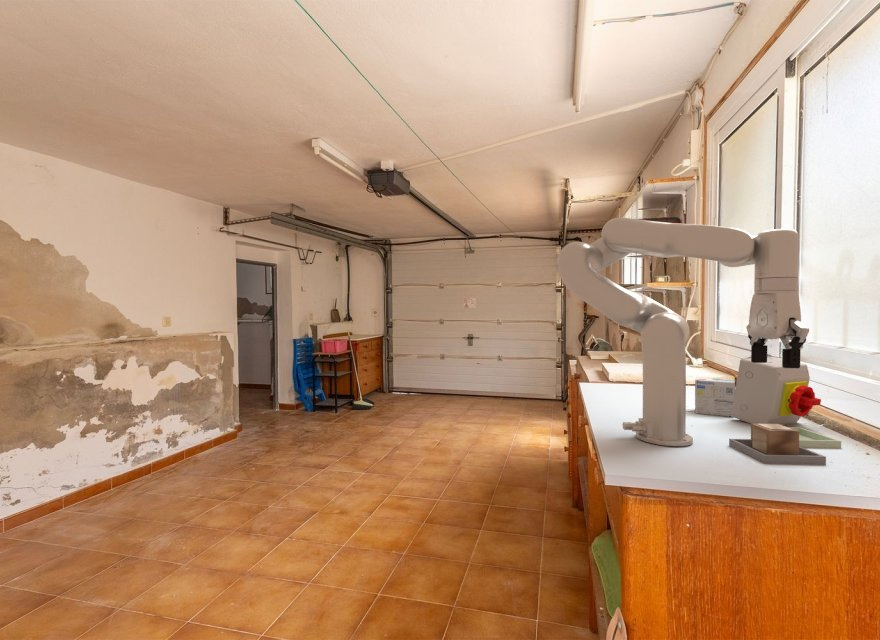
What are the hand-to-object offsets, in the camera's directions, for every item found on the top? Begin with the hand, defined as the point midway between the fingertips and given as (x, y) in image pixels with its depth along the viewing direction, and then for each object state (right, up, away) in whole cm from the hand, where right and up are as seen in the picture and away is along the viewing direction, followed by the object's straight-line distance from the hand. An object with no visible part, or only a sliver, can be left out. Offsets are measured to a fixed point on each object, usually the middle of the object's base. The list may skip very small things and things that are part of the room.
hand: (774, 365), depth 94 cm
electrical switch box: (+21, -20, +26) cm, 39 cm away
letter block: (0, -20, 0) cm, 20 cm away
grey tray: (0, -20, 0) cm, 20 cm away
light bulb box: (+13, -20, +41) cm, 47 cm away
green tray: (+13, -20, +11) cm, 26 cm away
